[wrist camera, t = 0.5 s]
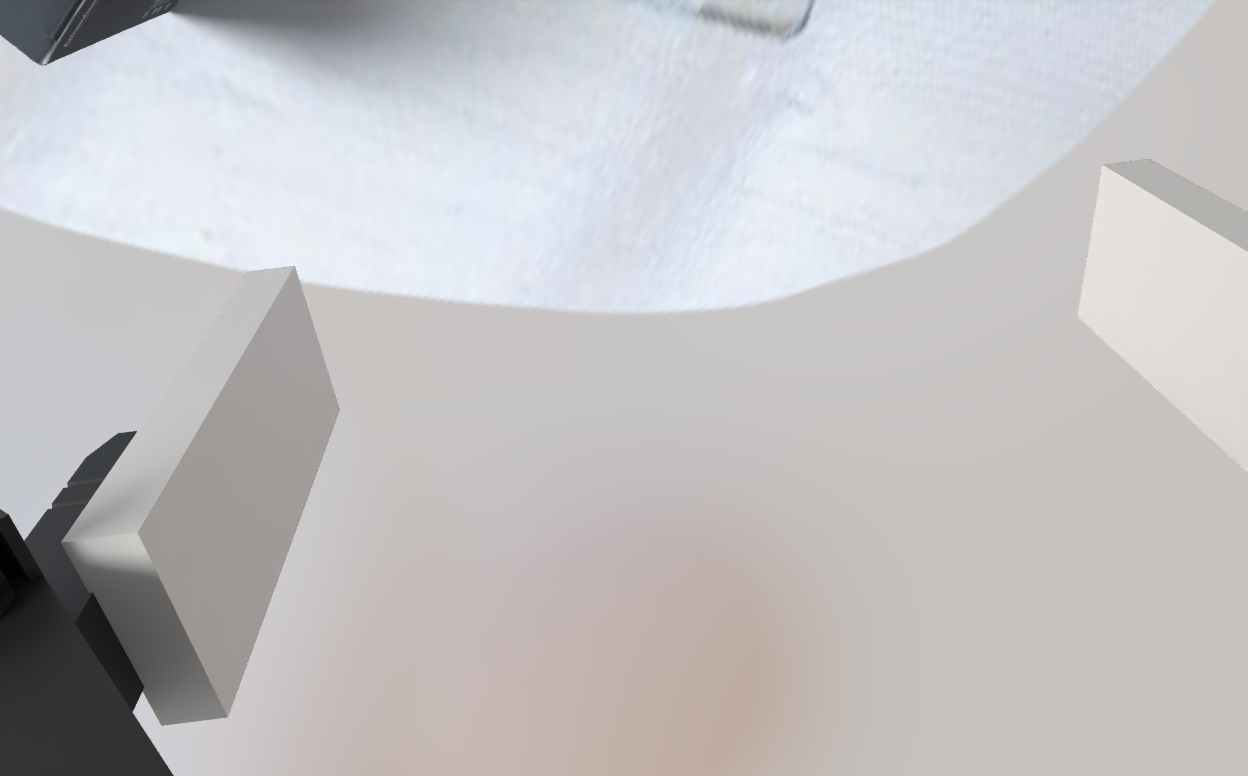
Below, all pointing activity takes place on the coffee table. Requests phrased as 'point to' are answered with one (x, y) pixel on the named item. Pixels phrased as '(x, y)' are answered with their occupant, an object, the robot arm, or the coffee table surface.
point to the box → (70, 23)
